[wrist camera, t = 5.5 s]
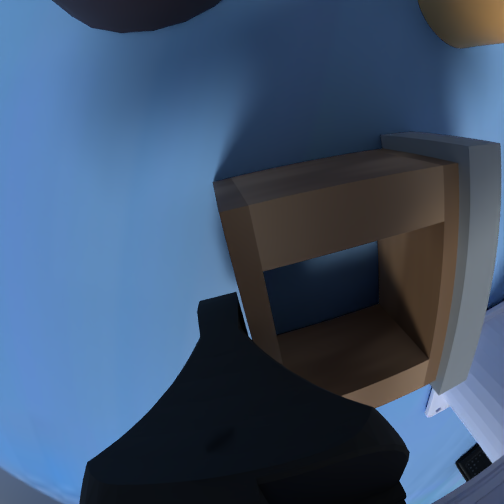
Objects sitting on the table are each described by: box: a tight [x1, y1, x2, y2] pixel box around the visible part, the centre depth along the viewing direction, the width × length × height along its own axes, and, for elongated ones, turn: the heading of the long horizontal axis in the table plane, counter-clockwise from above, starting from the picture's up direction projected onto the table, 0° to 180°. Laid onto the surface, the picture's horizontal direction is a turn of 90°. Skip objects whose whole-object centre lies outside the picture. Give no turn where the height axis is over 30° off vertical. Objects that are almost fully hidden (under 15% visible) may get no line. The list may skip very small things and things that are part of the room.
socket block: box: [213, 148, 459, 408], centre depth 10 cm, size 6×8×4 cm
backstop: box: [380, 132, 501, 395], centre depth 10 cm, size 2×9×4 cm, turn 12°
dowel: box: [418, 0, 504, 49], centre depth 6 cm, size 4×4×6 cm
